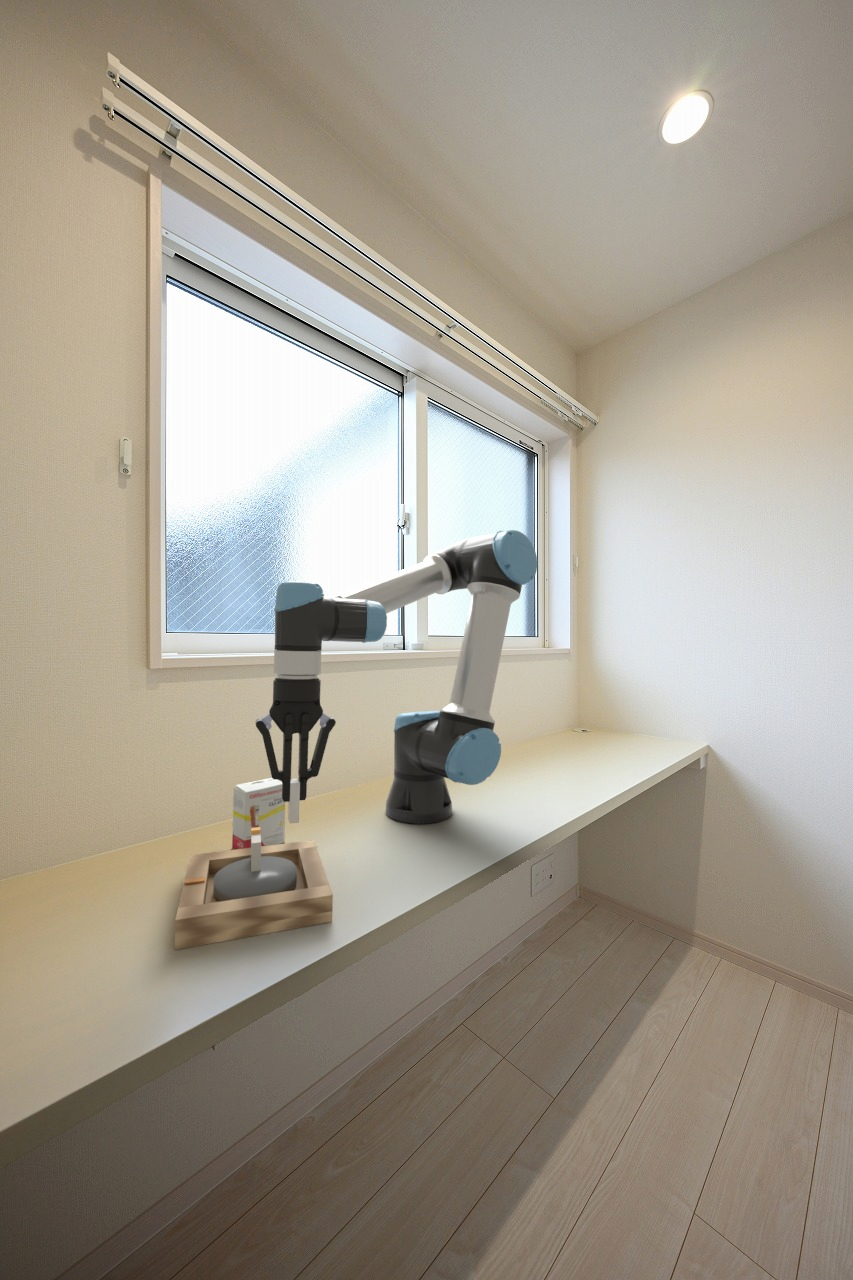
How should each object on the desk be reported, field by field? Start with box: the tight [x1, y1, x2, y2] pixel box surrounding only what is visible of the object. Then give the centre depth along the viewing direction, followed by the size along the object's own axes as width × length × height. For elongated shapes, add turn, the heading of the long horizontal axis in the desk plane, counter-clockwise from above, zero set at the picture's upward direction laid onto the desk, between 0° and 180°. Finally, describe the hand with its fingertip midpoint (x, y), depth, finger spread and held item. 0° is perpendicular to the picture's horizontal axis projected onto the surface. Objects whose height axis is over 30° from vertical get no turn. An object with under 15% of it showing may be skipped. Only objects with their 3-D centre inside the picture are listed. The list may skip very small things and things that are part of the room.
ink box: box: [231, 777, 286, 850], centre depth 96 cm, size 9×5×12 cm, turn 137°
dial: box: [213, 827, 297, 902], centre depth 77 cm, size 12×12×7 cm
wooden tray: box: [174, 839, 334, 951], centre depth 77 cm, size 20×20×4 cm
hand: (293, 820), depth 83 cm, fingers closed
